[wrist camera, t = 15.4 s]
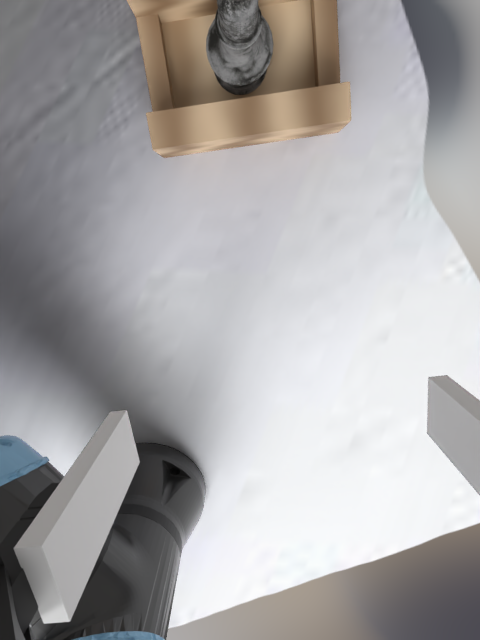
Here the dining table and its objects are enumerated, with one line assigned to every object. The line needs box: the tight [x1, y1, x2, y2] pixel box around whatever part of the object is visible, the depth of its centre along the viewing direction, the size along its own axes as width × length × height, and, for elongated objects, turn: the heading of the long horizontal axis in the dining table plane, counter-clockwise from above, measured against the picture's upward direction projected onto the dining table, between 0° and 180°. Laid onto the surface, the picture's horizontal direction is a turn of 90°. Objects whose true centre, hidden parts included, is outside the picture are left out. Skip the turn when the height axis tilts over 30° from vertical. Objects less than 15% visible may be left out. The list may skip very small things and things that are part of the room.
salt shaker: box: [206, 0, 273, 95], centre depth 28 cm, size 6×6×12 cm
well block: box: [127, 0, 351, 158], centre depth 32 cm, size 18×14×6 cm
